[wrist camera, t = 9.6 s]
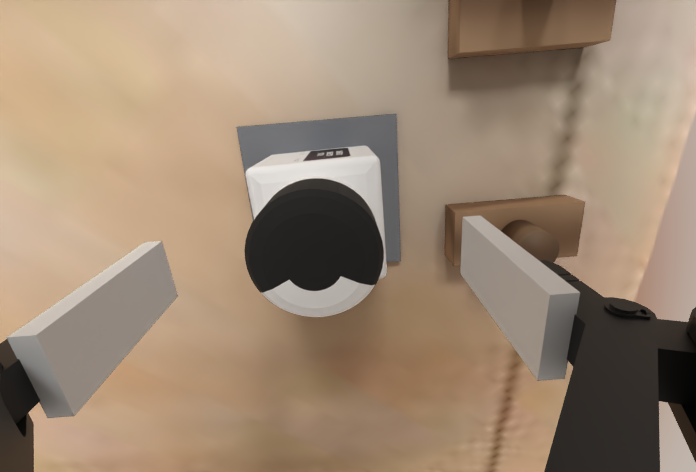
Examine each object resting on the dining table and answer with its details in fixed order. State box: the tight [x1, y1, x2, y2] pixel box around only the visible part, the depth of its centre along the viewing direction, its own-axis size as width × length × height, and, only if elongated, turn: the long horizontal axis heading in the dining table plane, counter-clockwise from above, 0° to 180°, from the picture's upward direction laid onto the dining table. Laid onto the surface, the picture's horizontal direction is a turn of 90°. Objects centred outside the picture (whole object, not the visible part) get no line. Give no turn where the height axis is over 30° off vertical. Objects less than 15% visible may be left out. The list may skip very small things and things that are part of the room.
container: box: [245, 146, 387, 317], centre depth 22 cm, size 8×8×13 cm
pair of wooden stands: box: [445, 0, 616, 266], centre depth 22 cm, size 23×10×8 cm, turn 5°
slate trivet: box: [237, 114, 401, 262], centre depth 28 cm, size 12×12×1 cm
